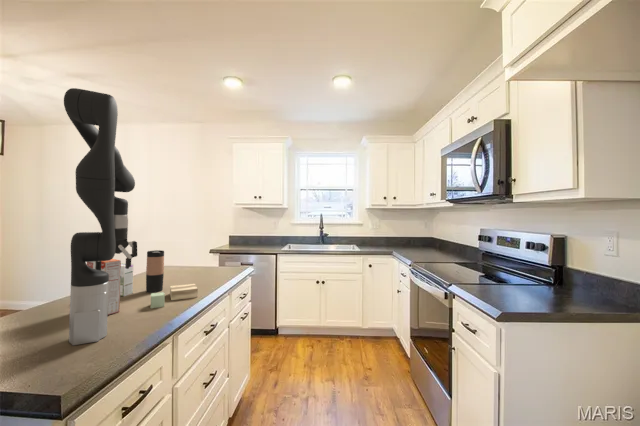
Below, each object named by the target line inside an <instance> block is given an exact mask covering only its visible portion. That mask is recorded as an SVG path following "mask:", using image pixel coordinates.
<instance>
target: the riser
mask: <svg viewBox="0 0 640 426" xmlns="http://www.w3.org/2000/svg"><path fill="white" fill-rule="evenodd" d="M198 294H199V291H198V287H197V285H196V283H187V284H186V283H185V284H177V285H174V284H173V285H170V287H169V295H170V296H169V297H170V300H171V301H178V300H186V299H193V298H194V299H196V298H198V296H199V295H198Z"/></svg>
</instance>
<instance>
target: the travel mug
mask: <svg viewBox="0 0 640 426" xmlns="http://www.w3.org/2000/svg"><path fill="white" fill-rule="evenodd" d="M164 271H165V250H160V249H159V250H157V249H156V250H155V249H154V250H148V251H147V252H146V270H145V272H146V273H145V274H146V275H145V287H146V288H145V291H146V293H148V294H149V293H150V294H151V293H160V292H163V289H164V275H165V274H164V273H165V272H164Z"/></svg>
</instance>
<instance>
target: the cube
mask: <svg viewBox="0 0 640 426" xmlns="http://www.w3.org/2000/svg"><path fill="white" fill-rule="evenodd" d="M165 298H166V295H165V292H163V291H160V292H155V293H150V309H155V308H156V309H157V308H165Z"/></svg>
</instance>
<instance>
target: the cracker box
mask: <svg viewBox="0 0 640 426" xmlns="http://www.w3.org/2000/svg"><path fill="white" fill-rule="evenodd" d="M95 262H96V261H93V262H86V264H87V265H88V266H89V267H91V268H93V269H95ZM121 264H122V261H121V259H115V258H112V259H111V260H108V261H101V271H105V272H107V273H108V274H109V286H108V316H110V315H113V314H116V313H119V312H120V305H121V301H120V300H121V296H120V271H121Z"/></svg>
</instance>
